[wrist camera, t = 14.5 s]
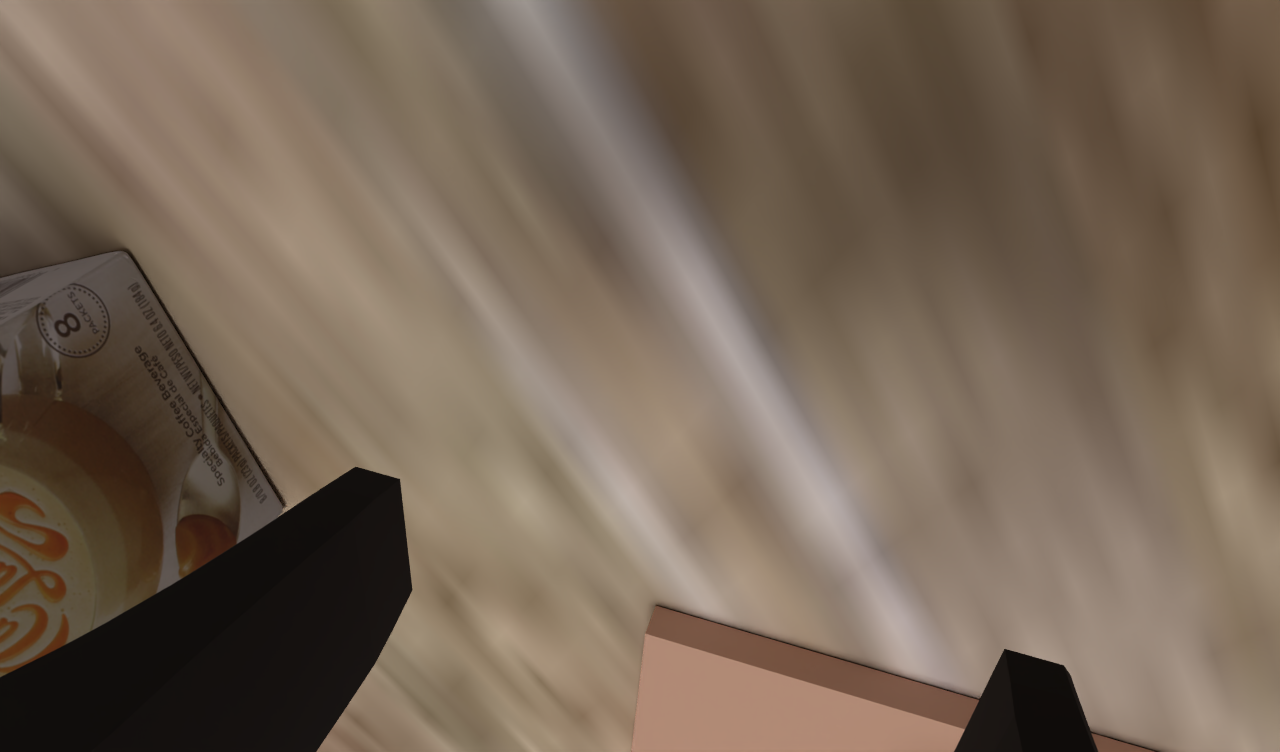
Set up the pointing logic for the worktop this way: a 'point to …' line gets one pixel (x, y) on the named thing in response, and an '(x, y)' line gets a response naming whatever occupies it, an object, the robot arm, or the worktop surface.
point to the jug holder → (784, 698)
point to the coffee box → (106, 455)
